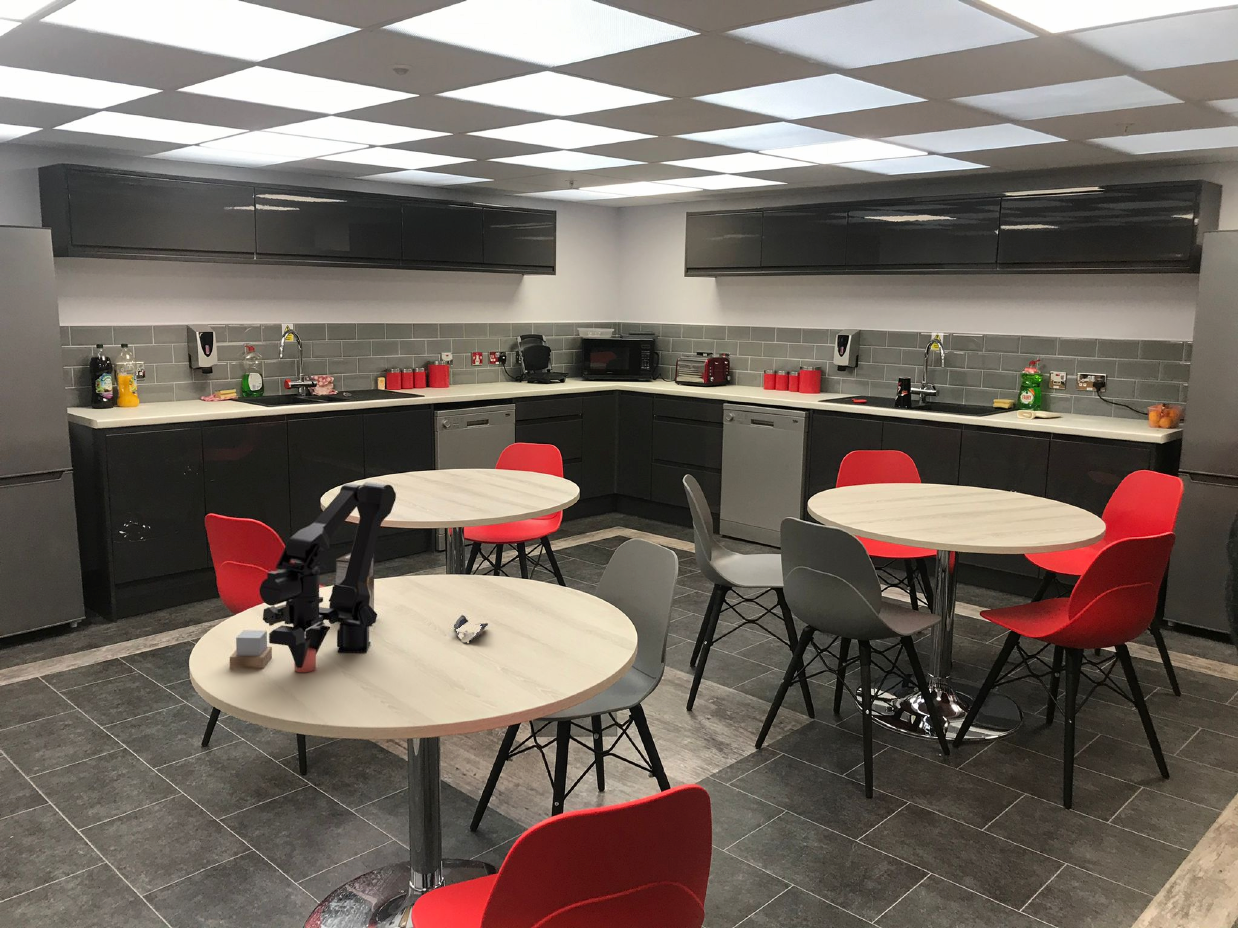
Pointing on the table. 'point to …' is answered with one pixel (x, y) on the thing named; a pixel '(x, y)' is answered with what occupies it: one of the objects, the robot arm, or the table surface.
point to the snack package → (463, 620)
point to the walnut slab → (251, 660)
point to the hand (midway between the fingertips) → (305, 663)
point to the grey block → (251, 642)
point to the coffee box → (341, 572)
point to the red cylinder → (308, 661)
